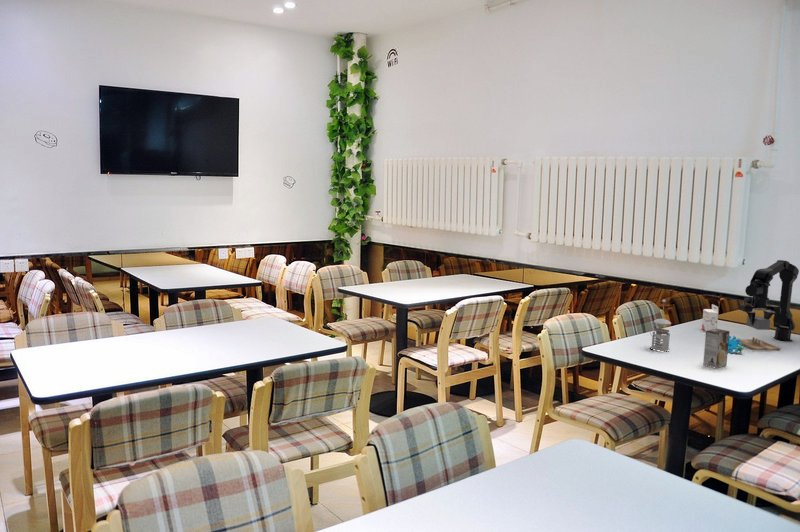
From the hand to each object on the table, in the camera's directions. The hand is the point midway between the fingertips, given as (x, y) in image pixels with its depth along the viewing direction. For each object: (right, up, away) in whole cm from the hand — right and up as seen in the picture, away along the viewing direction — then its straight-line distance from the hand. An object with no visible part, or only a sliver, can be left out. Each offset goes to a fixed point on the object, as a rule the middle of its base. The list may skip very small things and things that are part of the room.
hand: (758, 325), depth 332 cm
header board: (0, -11, +1) cm, 11 cm away
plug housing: (0, -1, 0) cm, 1 cm away
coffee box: (-40, -15, -37) cm, 56 cm away
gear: (-20, -12, -13) cm, 27 cm away
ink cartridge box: (-11, -6, +31) cm, 33 cm away
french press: (-55, -11, -11) cm, 57 cm away
